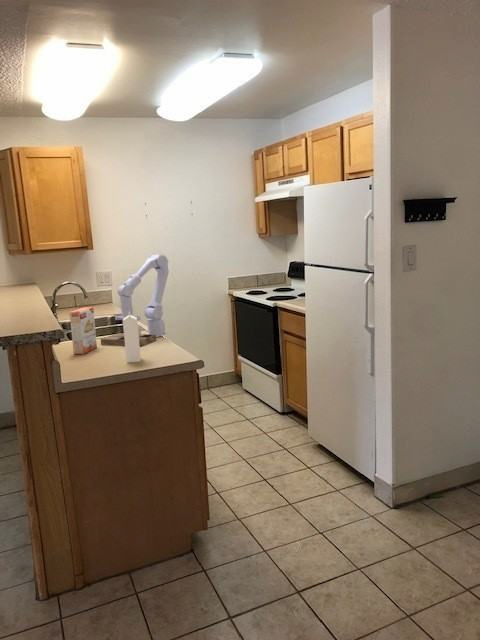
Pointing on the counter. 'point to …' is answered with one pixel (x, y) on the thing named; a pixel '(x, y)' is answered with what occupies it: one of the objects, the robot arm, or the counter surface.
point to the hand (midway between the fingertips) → (129, 333)
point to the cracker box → (83, 330)
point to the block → (139, 330)
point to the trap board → (119, 340)
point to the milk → (131, 338)
